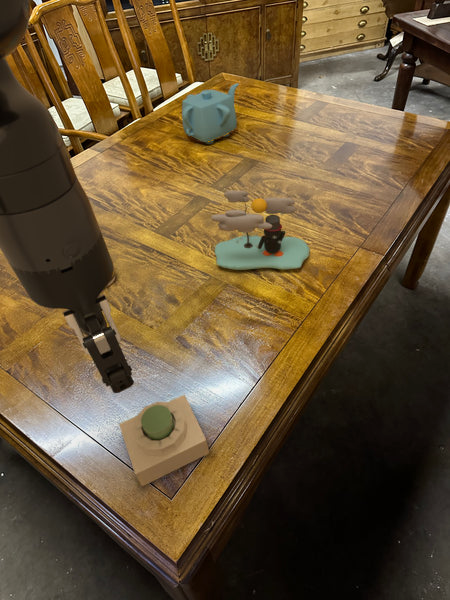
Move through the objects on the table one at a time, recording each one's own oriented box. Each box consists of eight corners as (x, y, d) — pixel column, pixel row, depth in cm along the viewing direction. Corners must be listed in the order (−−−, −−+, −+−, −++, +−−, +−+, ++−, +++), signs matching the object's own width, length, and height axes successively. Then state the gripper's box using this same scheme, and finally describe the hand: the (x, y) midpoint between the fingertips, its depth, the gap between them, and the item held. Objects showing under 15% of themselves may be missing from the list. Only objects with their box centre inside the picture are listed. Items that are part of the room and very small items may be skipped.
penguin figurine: (309, 243, 90) (314, 179, 79) (308, 276, 83) (313, 210, 72) (218, 241, 93) (211, 179, 83) (210, 272, 86) (200, 209, 75)
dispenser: (142, 486, 56) (131, 467, 52) (126, 437, 62) (115, 416, 57) (209, 453, 59) (204, 432, 54) (188, 408, 64) (182, 386, 60)
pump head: (149, 445, 54) (146, 437, 53) (140, 420, 57) (137, 412, 56) (178, 431, 55) (175, 424, 54) (168, 408, 58) (165, 400, 57)
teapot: (231, 147, 126) (228, 101, 117) (179, 147, 129) (172, 102, 120) (241, 122, 138) (239, 79, 129) (193, 123, 142) (188, 80, 132)
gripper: (-8, 213, 37) (61, 331, 49) (20, 310, 28) (96, 427, 39) (75, 185, 39) (121, 304, 51) (125, 267, 30) (168, 390, 41)
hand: (110, 358), depth 45 cm, fingers open, 8 cm apart
